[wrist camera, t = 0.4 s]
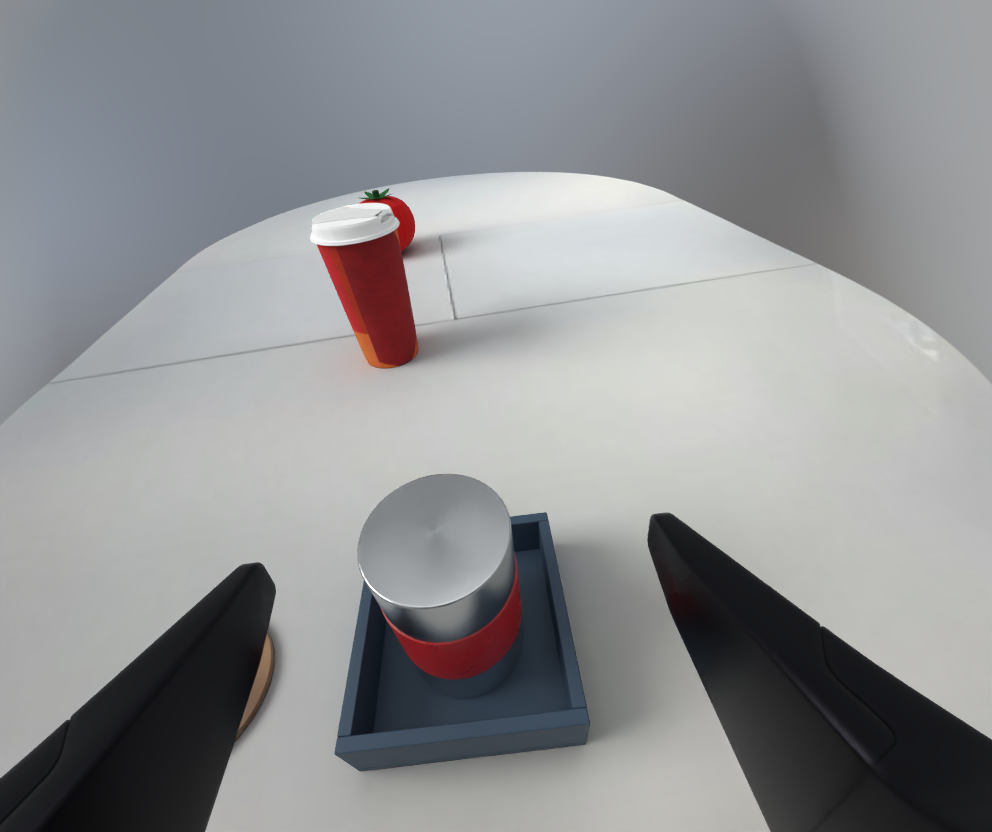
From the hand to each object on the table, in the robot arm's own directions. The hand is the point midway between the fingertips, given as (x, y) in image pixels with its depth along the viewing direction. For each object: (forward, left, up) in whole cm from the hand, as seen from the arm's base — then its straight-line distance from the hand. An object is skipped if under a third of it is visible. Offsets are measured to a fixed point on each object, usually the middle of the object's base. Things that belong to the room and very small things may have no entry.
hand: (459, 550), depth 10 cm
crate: (+5, +2, -16) cm, 17 cm away
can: (+5, +2, -16) cm, 16 cm away
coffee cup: (+37, +10, -16) cm, 41 cm away
